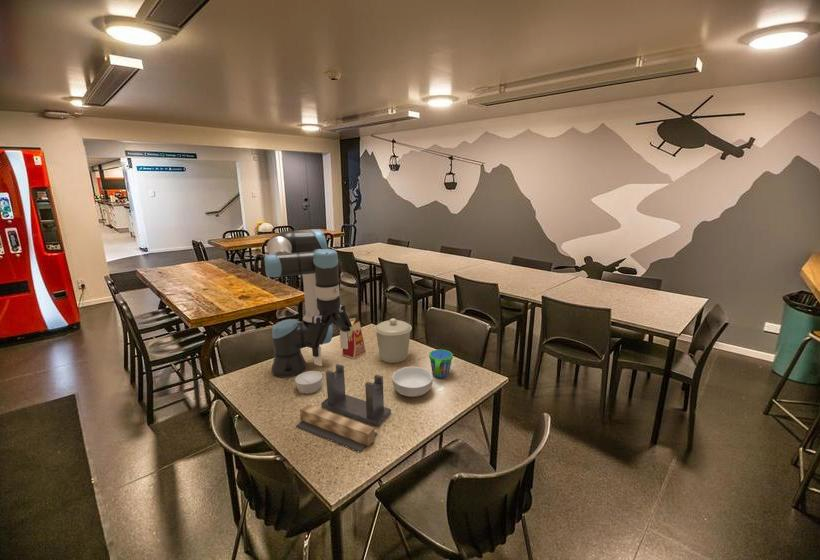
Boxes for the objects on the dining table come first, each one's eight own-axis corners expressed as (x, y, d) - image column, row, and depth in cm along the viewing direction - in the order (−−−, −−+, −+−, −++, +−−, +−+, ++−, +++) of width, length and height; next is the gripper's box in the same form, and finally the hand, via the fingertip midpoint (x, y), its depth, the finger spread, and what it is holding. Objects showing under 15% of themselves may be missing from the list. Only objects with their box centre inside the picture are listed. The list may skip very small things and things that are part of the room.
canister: (369, 364, 177) (368, 323, 171) (383, 348, 193) (382, 310, 188) (405, 369, 171) (405, 327, 166) (416, 353, 188) (416, 314, 183)
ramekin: (291, 394, 152) (290, 383, 151) (302, 380, 163) (301, 369, 161) (317, 396, 150) (316, 385, 149) (327, 382, 161) (326, 371, 160)
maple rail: (300, 419, 134) (299, 409, 133) (307, 414, 138) (306, 403, 136) (368, 446, 121) (368, 434, 120) (374, 439, 124) (374, 427, 123)
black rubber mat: (296, 427, 131) (296, 425, 131) (315, 412, 140) (315, 410, 140) (360, 452, 119) (360, 451, 118) (377, 434, 127) (377, 433, 127)
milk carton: (366, 352, 189) (364, 315, 184) (354, 359, 182) (352, 321, 177) (352, 348, 194) (350, 312, 189) (340, 355, 186) (338, 318, 181)
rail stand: (321, 407, 143) (318, 371, 139) (336, 395, 151) (334, 361, 147) (378, 427, 131) (376, 388, 127) (391, 413, 139) (390, 376, 135)
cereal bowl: (384, 390, 155) (384, 374, 153) (414, 376, 165) (414, 362, 163) (410, 408, 142) (410, 391, 140) (441, 392, 152) (441, 377, 151)
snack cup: (435, 365, 176) (435, 345, 173) (456, 369, 172) (457, 349, 169) (423, 380, 162) (423, 359, 159) (446, 385, 158) (446, 364, 155)
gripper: (309, 310, 108) (315, 375, 114) (360, 288, 129) (362, 344, 135) (291, 306, 111) (297, 369, 117) (343, 285, 133) (345, 340, 138)
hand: (331, 356), depth 126 cm, fingers open, 13 cm apart
